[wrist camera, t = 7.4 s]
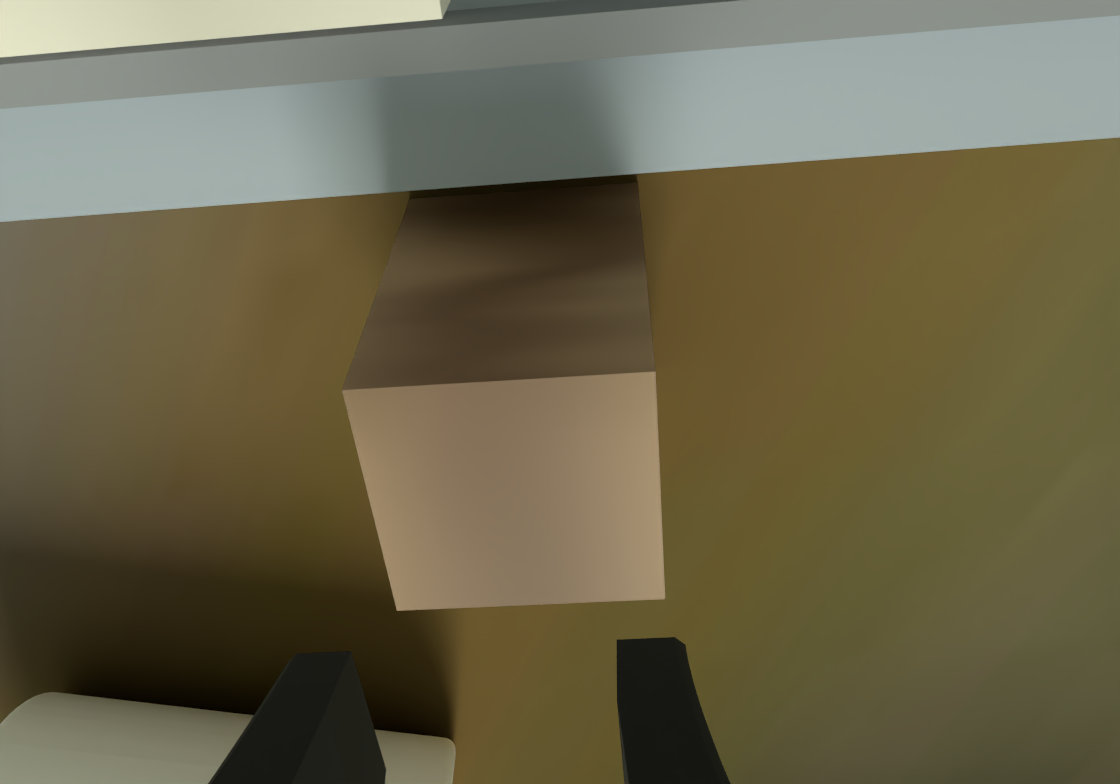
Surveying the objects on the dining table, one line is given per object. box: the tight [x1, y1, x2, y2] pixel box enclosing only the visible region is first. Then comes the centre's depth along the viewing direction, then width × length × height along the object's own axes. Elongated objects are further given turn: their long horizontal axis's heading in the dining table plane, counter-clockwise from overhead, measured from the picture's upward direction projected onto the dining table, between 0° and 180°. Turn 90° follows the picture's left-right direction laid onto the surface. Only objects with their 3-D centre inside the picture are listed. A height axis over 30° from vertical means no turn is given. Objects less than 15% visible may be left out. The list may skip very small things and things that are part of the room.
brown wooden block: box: [342, 182, 665, 611], centre depth 17 cm, size 4×4×6 cm
